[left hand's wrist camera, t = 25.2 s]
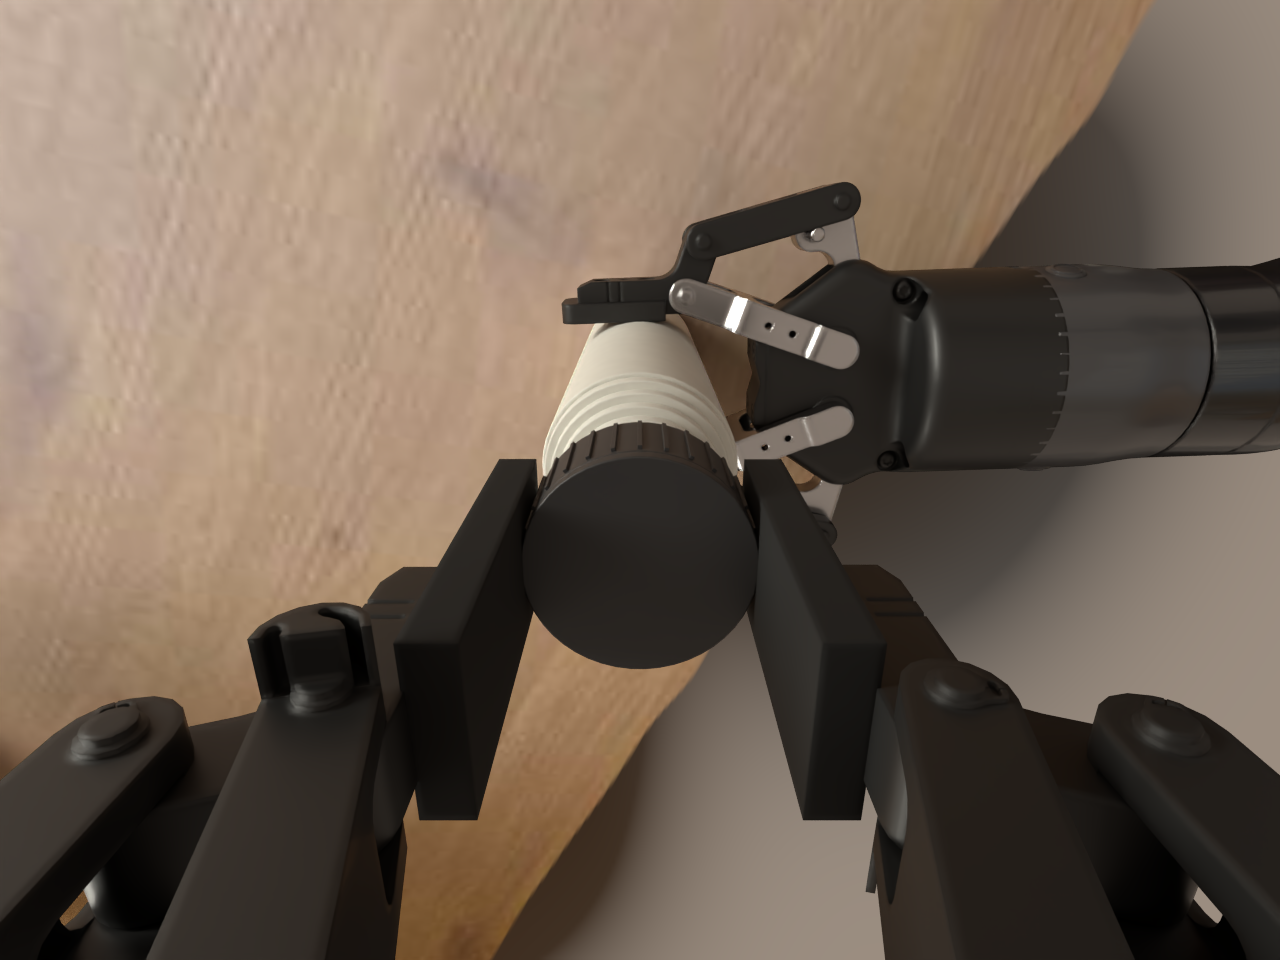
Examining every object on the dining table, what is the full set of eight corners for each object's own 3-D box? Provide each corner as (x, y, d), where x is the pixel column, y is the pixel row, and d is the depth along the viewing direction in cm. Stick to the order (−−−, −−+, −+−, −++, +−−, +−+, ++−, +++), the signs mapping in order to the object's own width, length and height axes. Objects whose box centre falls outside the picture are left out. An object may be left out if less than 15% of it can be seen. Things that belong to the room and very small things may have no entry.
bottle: (696, 300, 32) (784, 432, 12) (688, 404, 34) (754, 662, 14) (589, 294, 32) (508, 418, 12) (586, 399, 33) (513, 652, 14)
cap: (553, 397, 14) (538, 429, 12) (771, 443, 14) (794, 482, 12) (519, 591, 15) (500, 649, 13) (716, 628, 15) (727, 689, 13)
